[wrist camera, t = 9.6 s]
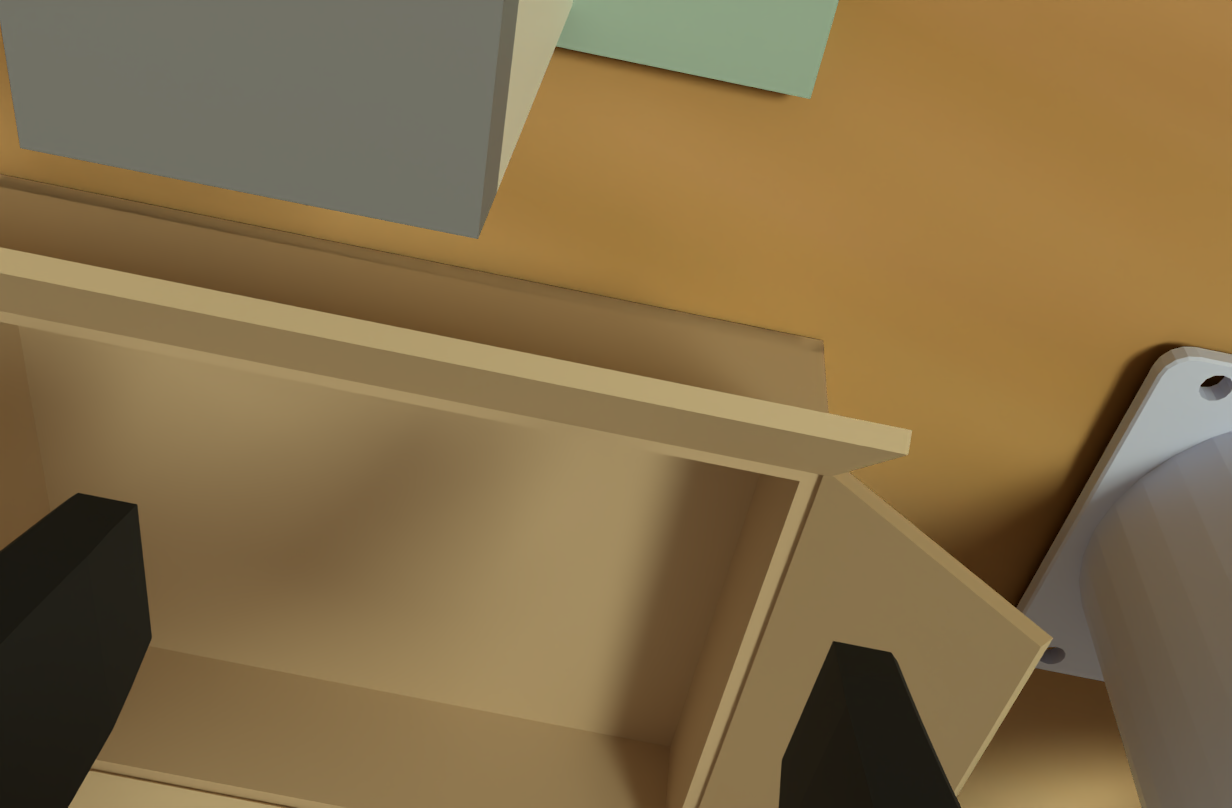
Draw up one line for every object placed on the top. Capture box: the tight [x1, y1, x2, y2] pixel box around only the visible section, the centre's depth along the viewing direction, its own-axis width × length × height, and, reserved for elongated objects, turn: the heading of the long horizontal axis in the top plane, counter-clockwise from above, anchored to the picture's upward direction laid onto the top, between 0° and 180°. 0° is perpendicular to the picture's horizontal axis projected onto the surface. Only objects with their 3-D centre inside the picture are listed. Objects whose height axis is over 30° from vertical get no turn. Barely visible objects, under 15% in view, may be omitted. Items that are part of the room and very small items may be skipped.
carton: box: [0, 174, 1053, 808], centre depth 22 cm, size 18×18×6 cm
